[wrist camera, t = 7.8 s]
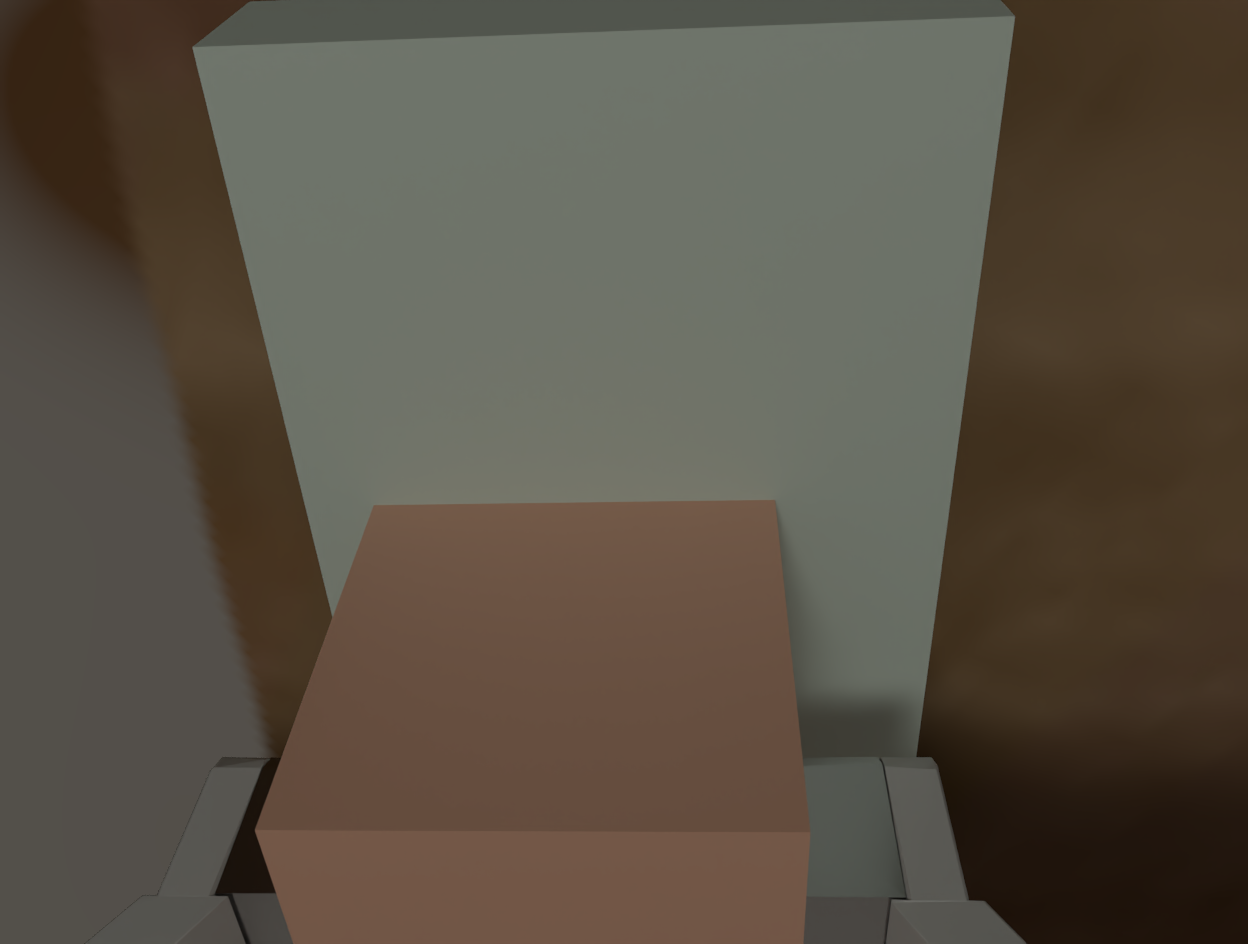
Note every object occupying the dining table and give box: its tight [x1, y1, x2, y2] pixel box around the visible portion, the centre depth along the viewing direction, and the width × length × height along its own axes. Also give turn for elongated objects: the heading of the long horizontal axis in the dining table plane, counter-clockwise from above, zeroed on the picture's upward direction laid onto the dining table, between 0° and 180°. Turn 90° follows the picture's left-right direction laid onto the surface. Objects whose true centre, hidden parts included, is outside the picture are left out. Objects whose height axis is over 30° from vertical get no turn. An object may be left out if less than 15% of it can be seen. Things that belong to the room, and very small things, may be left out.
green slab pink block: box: [192, 0, 1015, 944], centre depth 12 cm, size 6×14×6 cm, turn 3°
